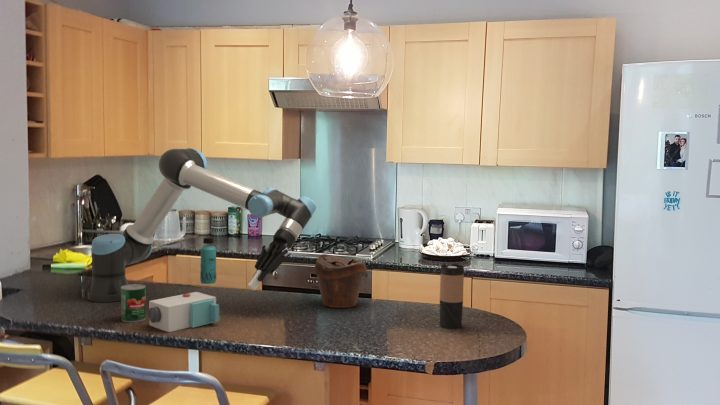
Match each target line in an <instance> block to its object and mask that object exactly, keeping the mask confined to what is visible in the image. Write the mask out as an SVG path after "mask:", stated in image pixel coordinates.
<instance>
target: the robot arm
mask: <svg viewBox="0 0 720 405" xmlns="http://www.w3.org/2000/svg"><path fill="white" fill-rule="evenodd" d="M158 160H159V161H158V169H159V172H160V174H161V175H162V176H163V179H162V181H161V182H160V184H159V185H158V186H157V188H156V190H154V193H153V194H152V195H151V197H150V198H149V200H148V201H147V203H146V204H145V206H144V208H143V209H142V211H141V212H140V214H139V216H138V217H137V218H136V220H135V221H134V223H133V224H128V225H127V226H126V228H125V229H124V230H123V232H122V233H107V234H101V235H98V236H96V237H95V238H93V239H92V241H91V247H90V250H91V268H92V269H91V272H92V278H91V282H90V284H89V288H88V291H87V300H89V301H90V302H96V303H111V302H118V301H120V302H121V287H122V286H124V285H129V283H128V280H127V277H126V266H129V265H133V264H137V263H141V262H142V261H144V260H146V259H147V258H149V256H150V255H151V254H152V251H153V248H154V247H153V243H154V241H155V239H154V235H155V233H156V232H157V231H158V229H159V228H160V226H161V224H162V223H163V221H164V220H165V219H166V217H167V216H168V214H169V213H170V211H171V209H172V208H173V206H174V205H175V204H176V202H177V201H178V199H179V198H180V196H181V195H182V193H183V192H184V191H185V190H189V189H191V187H193V188H195V189H198V190H199V191H202V192H205V193H207V194H210V195H212V196H214V197H215V198H216V197H217V198H220V199H221V200H224V201H227V202H228V203H230V204H234V205H236V206H238V207H240V208H242V209H245V210H248V211H249V213H250V214H251V215H253V216H254V217H256V218H257V217H258V218H260V217H261V218H264V217H267V216H271V215H274V214H279V215H280V216H283V217H284V220H283V221H282V222H281V224H280V225H279V227H278V229H277V230H276V232H275V233H274V234H273V240H272V241H271V242H270V243H269V244H268V245H265V244H264V245H262V246H261V251H260V253H259V256H258V257H257V260H256V262H255V264H254V268H255V269H256V271H255V273H254V274H252V278H251V279H250V281H249V282H248V284H247V286H248V287H249V288H250V290H252V291H256V289H257V288H258V287H259V285H260V284H261V282H262V281H264V279H265V277H266V276H268V275H269V274H270V275H273V274H274V272H275V271H277V269H278V268H279V267H280V266H281V265H282V264H283V262H284V261H285V260H286V259H288V258H289V257H291V254H292V253H291V252H290V251H289V249H291V248H292V247H293V246H294V244H295V242H296V240H297V239H299V236H300V234H301V233H302V231H303V230H304V229H305V227H306V226H307V224H308V223H309V221H310V220H311V219H312V217H313V215H314V213H315V211H317V210H316V209H317V205H316V203H315V201H314V200H312V198H310V197H309V196H308V197H307V196H304V195H303V196H299V198H297V199H296V198H293V197H291V196H290V195H288V194H285V193H284V192H282V191H281V190H278V189H276V188H273V187H266V189H265V190H264V191H262V192H261V191H259V190H256V189H254V188H252V187H250V186H247V185H245V184H243V183H240V182H238V181H235V180H233V179H230V178H228V177H226V176H223V175H221V174H218V173H215V172H213V171H211V170H210V169H209V170H208V162H207V158H206V156H205V154H203V153H202V152H201V151H200V150H198V149H195V148H191V147H190V148H189V147H188V148H171V149H168V150H166V151H165V152H164V153H163V154H162V155H160V157H159V159H158Z"/></svg>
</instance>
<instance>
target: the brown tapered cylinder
mask: <svg viewBox="0 0 720 405" xmlns="http://www.w3.org/2000/svg"><path fill="white" fill-rule="evenodd" d="M313 272H314V274H315V275H316V278H317V282H318V287H319V291H320V296H321V302H322V305H323V306H325V307H329V308H336V309H339V308H340V309H343V308H345V309H346V308H347V309H348V308H353V307H355V306H357V304H358V299H359V294H360V290H361V286H362V281H363V277H364V278H366V279H367V278H368V276H369V275H368V269H367V266H366V264H365V263H364V262H363V261H358V262H357V260H356V259H354V258H352V259H351V260H349V259H346V258H342V257H338V256H336V255H332V254H327V253H326V254H325V253H324V254H320V255H319V256H318V257H317V258H316V261H315V265H314V268H313Z"/></svg>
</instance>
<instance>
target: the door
mask: <svg viewBox="0 0 720 405" xmlns="http://www.w3.org/2000/svg"><path fill="white" fill-rule="evenodd" d="M218 322H220V304H218V303H216V304H215V303H214V300H211V299H210V300H205V301H201V302H196V303H191V304H190V327H189V328H192V329H193V328H198V327H201V326H205V325H209V324H214V323H218Z"/></svg>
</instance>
